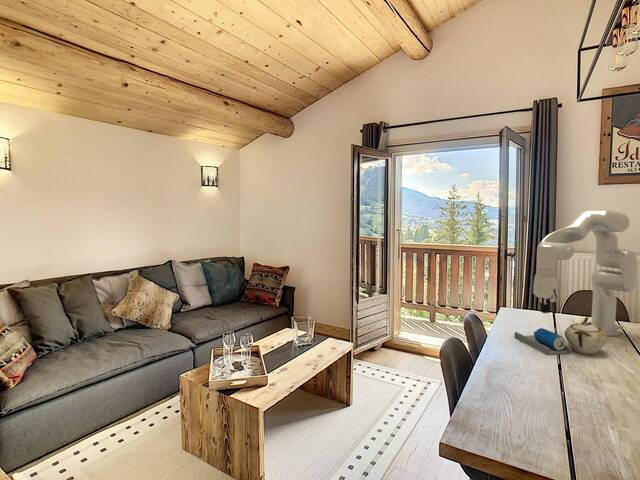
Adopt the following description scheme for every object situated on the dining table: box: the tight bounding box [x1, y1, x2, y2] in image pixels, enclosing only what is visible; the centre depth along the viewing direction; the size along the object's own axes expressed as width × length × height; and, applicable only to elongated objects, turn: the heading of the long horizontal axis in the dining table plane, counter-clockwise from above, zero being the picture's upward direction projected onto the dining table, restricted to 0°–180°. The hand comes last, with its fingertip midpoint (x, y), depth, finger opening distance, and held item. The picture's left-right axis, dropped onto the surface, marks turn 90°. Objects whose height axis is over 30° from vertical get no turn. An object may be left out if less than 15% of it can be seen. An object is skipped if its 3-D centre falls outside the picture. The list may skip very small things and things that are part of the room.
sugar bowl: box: [564, 316, 608, 355], centre depth 162 cm, size 20×15×15 cm
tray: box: [514, 330, 573, 356], centre depth 168 cm, size 11×22×3 cm, turn 7°
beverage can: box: [533, 327, 567, 350], centre depth 165 cm, size 6×6×12 cm
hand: (545, 312), depth 167 cm, fingers closed
